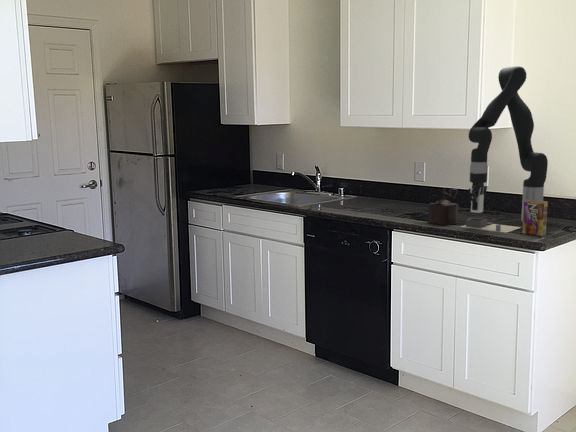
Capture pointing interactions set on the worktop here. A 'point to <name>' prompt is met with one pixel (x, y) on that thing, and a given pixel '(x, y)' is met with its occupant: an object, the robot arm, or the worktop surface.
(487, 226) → the board
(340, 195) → the worktop surface
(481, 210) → the plug
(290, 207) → the worktop surface
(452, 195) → the manual coffee grinder
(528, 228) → the candy box
